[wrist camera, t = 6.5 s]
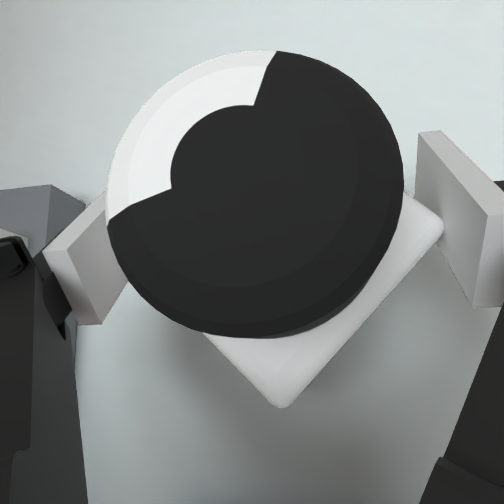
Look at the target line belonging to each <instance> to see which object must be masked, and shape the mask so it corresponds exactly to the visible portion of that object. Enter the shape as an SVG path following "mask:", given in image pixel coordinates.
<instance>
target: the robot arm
mask: <svg viewBox="0 0 504 504" xmlns="http://www.w3.org/2000/svg"><path fill="white" fill-rule="evenodd" d="M105 195H106V190H105V191H104V192H103V193H102V194H101V195H100V196H99V197H98V198H97V199H96V200H95V201H94V202H93V203H91V204H90V205H89V206H88V207H87V208H86V209H85V210H84V211H83V212H82V213H81V214H80V215H79V216H78V217H77V218H76V219H75V220H74V221H73V222H72V223H71V224H70V225H69V226H68V227H66V228H64V229H63V230H61V231H60V232H59V233H58V234H57V235H56V236H55V237H54V239H52V240H51V241H50V242H49V243H48V245H46V246H45V247H44V248H43V249H42V250H41V251H40V252H39V253H37V254H36V255H35V256H34V257H33V258H32V257H31V255H30V253H29V251H28V249H27V247H26V245H25V243H24V241H23V240H22V238H21V237H19V236H8V237H4V238H0V504H88V499H87V489H86V479H85V469H84V459H83V450H82V440H81V430H80V420H79V411H78V401H77V391H76V381H75V372H74V362H73V352H72V342H71V333H70V329H69V327H68V325H67V323H66V321H65V319H66V318H67V316H68V315H69V314H70V312H71V311H72V312H73V314H74V316H75V318H76V320H77V322H78V324H79V325H96V324H102V322H103V321H104V319H105V318H106V316H107V314H108V313H109V311H110V310H111V308H112V306H113V305H114V303H115V301H116V300H117V298H118V297H119V295H120V293H121V292H122V290H123V289H124V287H125V285H126V284H127V282H128V279H127V278H126V276H125V274H124V273H123V271H122V269H121V267H120V266H119V264H118V262H117V259H116V257H115V254H114V252H113V249H112V247H111V243H110V239H109V235H108V231H107V225H106V215H105ZM414 199H416V200H417V201H418V202H420V203H421V204H423V205H424V206H425V207H427V208H428V209H429V210H431V211H432V212H434V213H435V214H436V215H438V216H439V217H440V218H441V219H442V220H443V222H444V231H443V233H442V235H441V236H440V238H439V239H438V240H437V241H436V242H437V244H438V246H439V248H440V250H441V251H442V253H443V255H444V257H445V259H446V261H447V263H448V264H449V266H450V268H451V270H452V272H453V274H454V276H455V277H456V279H457V281H458V283H459V285H460V287H461V288H462V290H463V292H464V294H465V296H466V298H467V300H468V301H469V303H470V305H471V307H472V308H482V307H502V308H501V310H500V313H499V315H498V318H497V321H496V323H495V326H494V328H493V331H492V333H491V336H490V339H489V341H488V344H487V346H486V349H485V351H484V354H483V357H482V359H481V362H480V364H479V367H478V370H477V372H476V375H475V377H474V380H473V382H472V385H471V388H470V390H469V393H468V395H467V398H466V401H465V403H464V406H463V408H462V411H461V413H460V416H459V419H458V421H457V424H456V426H455V429H454V431H453V434H452V437H451V439H450V442H449V444H448V447H447V449H446V452H445V454H444V456H443V457H439V459H438V460H437V462H436V464H435V466H434V468H433V471H432V473H431V475H430V478H429V480H428V483H427V485H426V488H425V490H424V493H423V495H422V498H421V500H420V503H419V504H504V181H492V180H491V179H490V178H489V177H488V176H487V175H486V174H485V173H484V172H483V171H482V170H481V169H480V168H479V167H478V166H477V165H476V164H475V163H474V162H473V161H472V160H471V159H470V158H469V157H467V156H466V155H465V154H464V153H463V152H462V151H461V150H460V149H459V148H458V147H457V146H456V145H455V144H454V143H453V142H452V141H451V140H450V139H449V138H448V137H447V136H446V135H445V134H444V133H443V132H442V131H441V130H438V131H430V132H421V133H418V149H417V164H416V180H415V196H414Z"/></svg>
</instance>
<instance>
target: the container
mask: <svg viewBox="0 0 504 504" xmlns="http://www.w3.org/2000/svg"><path fill="white" fill-rule="evenodd" d="M105 215H106V225H107V231H108V235H109V239H110V243H111V247H112V249H113V252H114V254H115V257H116V259H117V262H118V264H119V266H120V267H121V269H122V271H123V273H124V274H125V276H126V278H127V279H128V281H129V282H130V283H131V285H132V286H133V287H134V288H135V289H136V291H137V292H138V293H139V294H140V296H141V297H143V298H144V299H145V300H146V301H147V302H148V303H149V304H150V305H151V306H153V307H154V308H155V309H156V310H158V311H159V312H161V313H162V314H164V315H165V316H167V317H168V318H170V319H171V320H173V321H175V322H177V323H179V324H182V325H184V326H186V327H188V328H190V329H193V330H197V331H200V332H202V333H203V334H204V335H205V336H206V337H207V338H208V339H209V340H210V341H211V342H212V343H213V344H214V345H215V347H216V348H217V349H218V350H219V351H220V352H221V353H222V354H223V355H224V356H225V357H226V358H227V359H228V360H229V361H230V362H231V363H232V364H233V365H234V366H235V367H236V368H237V369H238V370H239V371H240V372H241V373H242V374H243V375H244V376H245V377H246V378H247V379H248V380H249V381H250V382H251V383H252V384H253V386H254V387H255V388H256V389H257V390H258V391H259V392H260V393H261V394H262V395H263V396H264V397H265V398H266V399H267V400H268V401H269V402H270V403H271V404H272V405H274V406H275V407H277V408H286V407H287V406H289V405H290V404H291V403H292V402H293V401H294V400H295V399H296V398H297V397H298V396H299V394H300V393H301V392H302V391H303V390H304V389H305V388H306V387H307V385H308V384H309V383H310V382H311V381H312V380H313V379H314V378H315V377H316V375H317V374H318V373H319V372H320V371H321V370H322V369H323V368H324V366H325V365H326V364H327V363H328V362H329V361H330V360H331V359H332V357H333V356H334V355H335V354H336V353H337V352H338V351H339V350H340V349H341V347H342V346H343V345H344V344H345V343H346V342H347V341H348V340H349V338H350V337H351V336H352V335H353V334H354V333H355V332H356V331H357V329H358V328H359V327H360V326H361V325H362V324H363V323H364V322H365V320H366V319H367V318H368V317H369V316H370V315H371V314H372V313H373V312H374V310H375V309H376V308H377V307H378V306H379V305H380V304H381V303H382V301H383V300H384V299H385V298H386V297H387V296H388V295H389V294H390V292H391V291H392V290H393V289H394V288H395V287H396V286H397V285H398V284H399V282H400V281H401V280H402V279H403V278H404V277H405V276H406V275H407V273H408V272H409V271H410V270H411V269H412V268H413V267H414V266H415V264H416V263H417V262H418V261H419V260H420V259H421V258H422V257H423V256H424V254H425V253H426V252H427V251H428V250H429V249H430V248H431V247H432V245H433V244H434V243H435V242H436V241H437V240H438V239H439V238H440V236H441V235H442V233H443V231H444V222H443V220H442V219H441V218H440V217H439V216H438V215H436V214H435V213H434V212H432V211H431V210H429V209H428V208H427V207H425V206H424V205H423V204H421V203H420V202H418V201H417V200H416V199H414V198H413V197H411V196H410V195H409V194H407V193H406V192H405V191H404V177H403V163H402V159H401V155H400V150H399V146H398V142H397V140H396V137H395V135H394V132H393V130H392V127H391V125H390V123H389V121H388V120H387V118H386V116H385V115H384V113H383V111H382V110H381V108H380V107H379V105H378V104H377V103H376V102H375V101H374V99H373V98H372V97H371V96H370V95H369V93H368V92H367V91H366V90H364V89H363V88H362V87H361V86H360V85H359V84H358V83H357V82H355V81H354V80H353V79H352V78H350V77H349V76H347V75H346V74H344V73H343V72H341V71H340V70H338V69H336V68H334V67H332V66H330V65H328V64H326V63H324V62H322V61H319V60H316V59H313V58H310V57H307V56H303V55H300V54H294V53H288V52H282V51H266V50H255V51H243V52H236V53H232V54H227V55H222V56H219V57H216V58H213V59H210V60H207V61H204V62H202V63H200V64H198V65H196V66H194V67H191V68H189V69H187V70H186V71H184V72H182V73H181V74H179V75H178V76H176V77H174V78H173V79H171V80H170V81H169V82H168V83H166V84H165V85H164V86H163V87H161V88H160V89H159V90H158V91H157V92H156V93H155V94H154V95H153V96H152V97H151V98H150V99H149V100H148V101H147V102H146V103H145V104H144V105H143V106H142V107H141V109H140V110H139V111H138V113H137V114H136V115H135V116H134V118H133V119H132V121H131V122H130V124H129V126H128V127H127V129H126V131H125V132H124V134H123V136H122V139H121V141H120V143H119V145H118V147H117V150H116V152H115V154H114V157H113V160H112V164H111V167H110V170H109V174H108V180H107V186H106V195H105Z"/></svg>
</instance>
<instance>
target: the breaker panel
mask: <svg viewBox="0 0 504 504" xmlns="http://www.w3.org/2000/svg"><path fill="white" fill-rule="evenodd" d="M84 210H85V203H83V202H81V201H79V200H77V199H76V198H74V197H72V196H70V195H69V194H67V193H65V192H63V191H62V190H60V189H58V188H56V187H54V186H53V185H42V186H33V187H25V188H16V189H7V190H0V238H4V237H8V236H19V237H21V238H22V240H23V241H24V243H25V245H26V247H27V249H28V251H29V253H30V255H31V257H32V258H33V257H34V256H35V255H36V254H37V253H39V252H40V251H41V250H42V249H43V248H44V247H45V246H46V245H48V243H49V242H50V241H51V240H52V239H54V237H55V236H56V235H57V234H58V233H59V232H60V231H61V230H63V229H64V228H66V227H68V226H69V225H70V224H71V223H72V222H73V221H74V220H75V219H76V218H77V217H78V216H79V215H80V214H81V213H82V212H83V211H84ZM65 321H66V323H67V325H68V327H69V329H70V333H71V342H72V352H73V362H75V347H76V332H77V320H76V318H75V316H74V314H73V312H72V311H71V312H70V314H69V315H68V316H67V318H66V319H65Z"/></svg>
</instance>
